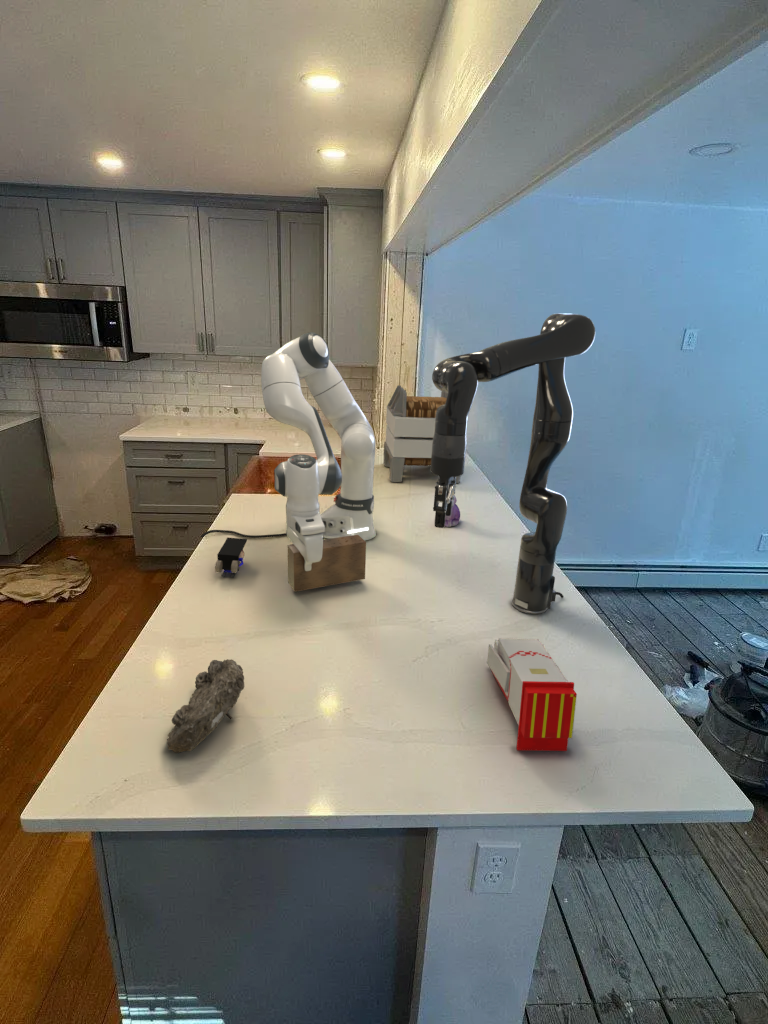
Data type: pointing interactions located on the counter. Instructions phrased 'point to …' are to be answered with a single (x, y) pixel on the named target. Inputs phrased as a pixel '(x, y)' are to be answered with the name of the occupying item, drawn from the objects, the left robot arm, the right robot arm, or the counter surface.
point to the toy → (534, 693)
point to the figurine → (453, 515)
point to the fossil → (206, 705)
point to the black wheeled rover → (230, 556)
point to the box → (329, 564)
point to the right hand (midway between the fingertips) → (442, 520)
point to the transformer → (410, 431)
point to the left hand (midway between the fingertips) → (303, 564)
